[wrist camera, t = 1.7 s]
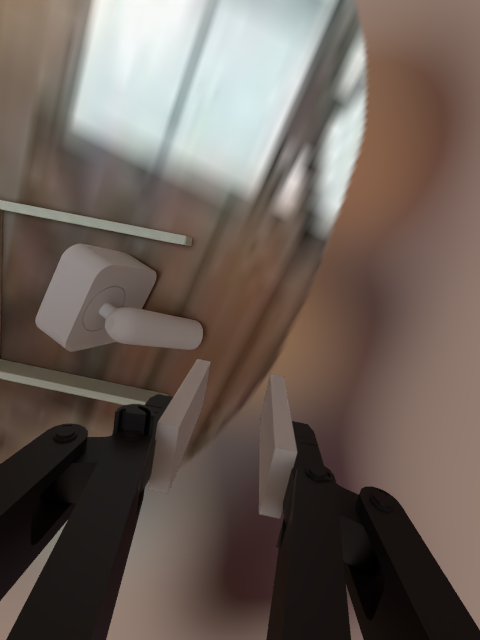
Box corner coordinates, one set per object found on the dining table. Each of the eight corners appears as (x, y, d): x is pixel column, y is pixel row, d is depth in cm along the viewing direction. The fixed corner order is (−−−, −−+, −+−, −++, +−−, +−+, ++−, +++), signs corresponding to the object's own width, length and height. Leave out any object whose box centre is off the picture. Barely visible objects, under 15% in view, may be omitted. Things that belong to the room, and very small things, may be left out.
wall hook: (187, 373, 32) (126, 407, 22) (113, 320, 34) (29, 331, 24) (224, 307, 30) (176, 313, 21) (144, 256, 32) (67, 240, 23)
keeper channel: (-7, 364, 34) (-32, 374, 31) (-5, 199, 30) (-34, 193, 27) (168, 401, 33) (158, 415, 30) (192, 237, 30) (184, 235, 27)
